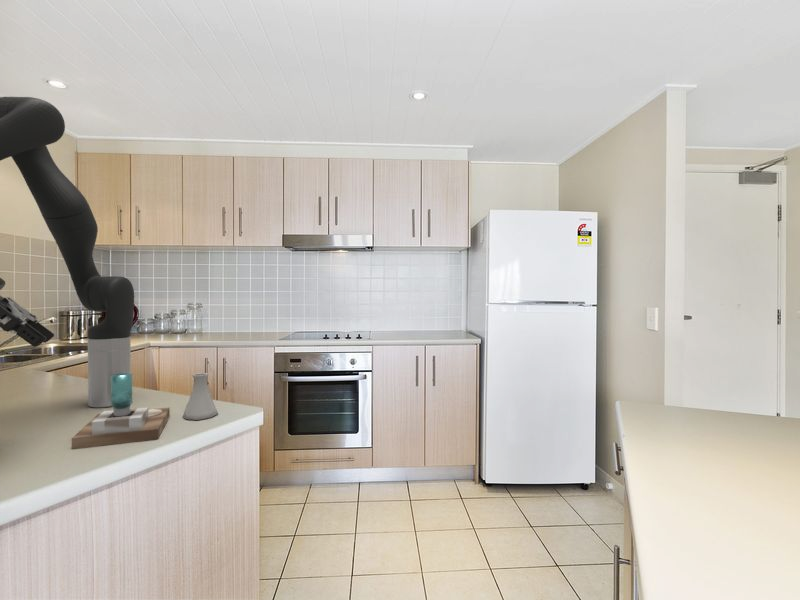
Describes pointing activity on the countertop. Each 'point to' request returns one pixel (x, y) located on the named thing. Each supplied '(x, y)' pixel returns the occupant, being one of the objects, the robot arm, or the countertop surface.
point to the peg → (121, 394)
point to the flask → (200, 400)
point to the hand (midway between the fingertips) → (46, 341)
